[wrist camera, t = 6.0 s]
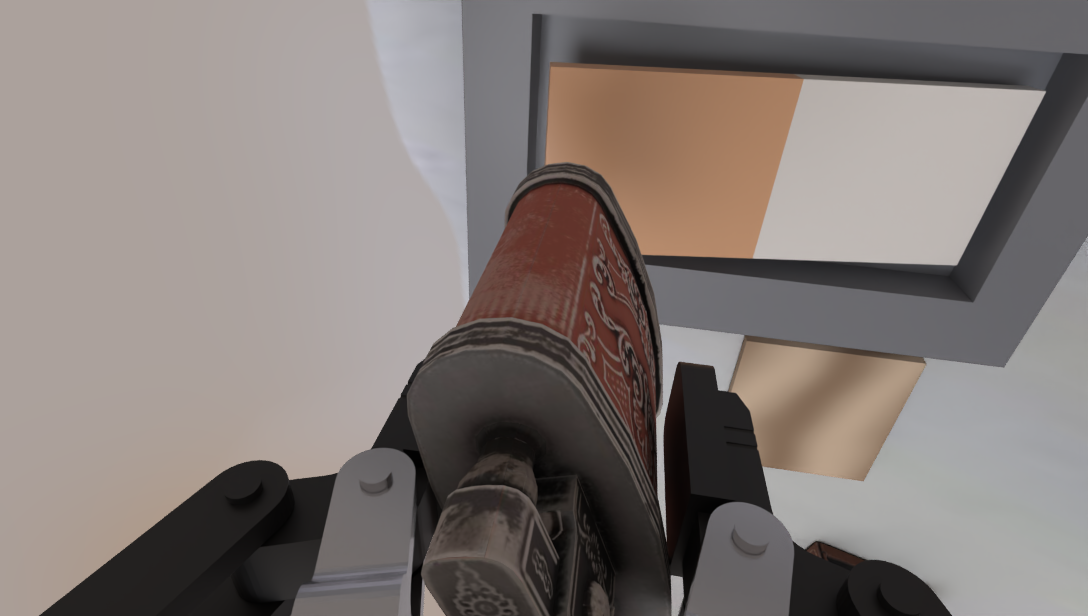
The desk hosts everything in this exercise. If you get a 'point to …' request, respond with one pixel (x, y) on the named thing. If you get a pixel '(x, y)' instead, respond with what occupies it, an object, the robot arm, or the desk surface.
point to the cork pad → (822, 403)
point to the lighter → (549, 418)
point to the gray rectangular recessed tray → (830, 50)
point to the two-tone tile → (789, 159)
